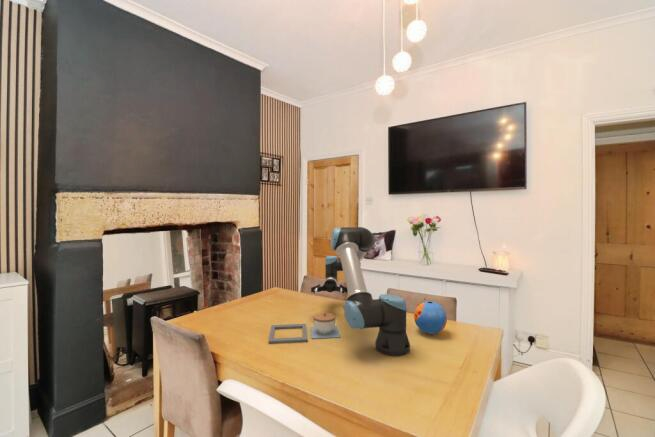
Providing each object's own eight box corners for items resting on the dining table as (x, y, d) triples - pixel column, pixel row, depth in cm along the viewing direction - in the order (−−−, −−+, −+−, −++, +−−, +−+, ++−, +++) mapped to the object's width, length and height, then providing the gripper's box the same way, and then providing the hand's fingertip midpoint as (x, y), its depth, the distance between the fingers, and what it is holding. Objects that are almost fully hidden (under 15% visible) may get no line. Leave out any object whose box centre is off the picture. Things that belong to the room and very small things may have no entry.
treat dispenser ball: (449, 340, 149) (449, 308, 148) (415, 337, 152) (415, 306, 151) (443, 328, 164) (444, 298, 164) (413, 325, 167) (413, 297, 167)
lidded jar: (336, 328, 163) (336, 309, 163) (334, 336, 153) (334, 317, 152) (315, 327, 164) (315, 309, 164) (312, 335, 154) (312, 316, 154)
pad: (340, 337, 152) (340, 336, 152) (311, 339, 151) (311, 338, 151) (336, 326, 166) (336, 325, 166) (310, 327, 165) (310, 327, 165)
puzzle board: (307, 342, 148) (307, 339, 148) (268, 343, 146) (268, 341, 146) (306, 325, 167) (306, 323, 167) (271, 327, 166) (271, 325, 165)
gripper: (351, 291, 189) (351, 300, 168) (309, 290, 191) (305, 300, 169) (351, 278, 189) (351, 286, 168) (309, 278, 191) (304, 286, 169)
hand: (328, 293), depth 169 cm, fingers open, 13 cm apart
